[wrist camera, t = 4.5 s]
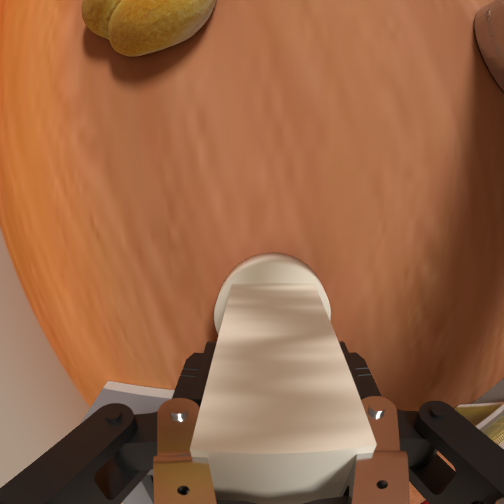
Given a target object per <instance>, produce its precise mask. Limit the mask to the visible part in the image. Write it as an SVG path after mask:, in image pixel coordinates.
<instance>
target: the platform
mask: <svg viewBox="0 0 504 504" xmlns="http://www.w3.org/2000/svg"><path fill="white" fill-rule="evenodd" d="M454 409H455V410H456V411H457V412H458V413H460V414H461V415H462V416H463V417H464V418H466V419H467V420H468V421H469V422H471V423H472V424H473V425H474V426H475V427H477V428H478V429H479V430H480V431H482V432H483V433H484V434H485V435H486V436H488V437H489V438H490V439H491V440H493V441H494V440H495V439H497V438H499V436H500V435H502V434H503V435H504V430H503V429H504V378H503V379H502V380H501V381H500V382H498V383H497V384H496V385H495V386H494V387H492V388H491V389H490V390H489V391H488V392H486V393H485V394H484V395H483V396H481V397H480V398H479V399H477V400H476V401H475V402H474V403H472V404H464V405H459V406H457V407H456V408H454ZM502 430H503V432H502ZM500 432H502V434H501V433H500ZM499 433H500V435H499ZM497 434H498V436H497ZM503 435H502V437H503ZM494 437H495V439H494ZM496 437H497V438H496ZM492 438H493V439H492ZM500 438H501V436H500ZM500 438H499V440H500ZM503 438H504V437H503ZM501 439H502V438H501ZM503 440H504V439H502V441H503ZM497 441H498V439H497ZM497 441H496V440H495V442H496V443H497ZM500 441H501V440H500ZM502 441H501V442H502ZM498 442H499V441H498ZM501 442H499V443H497V445H498V444H500V443H501Z"/></svg>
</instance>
